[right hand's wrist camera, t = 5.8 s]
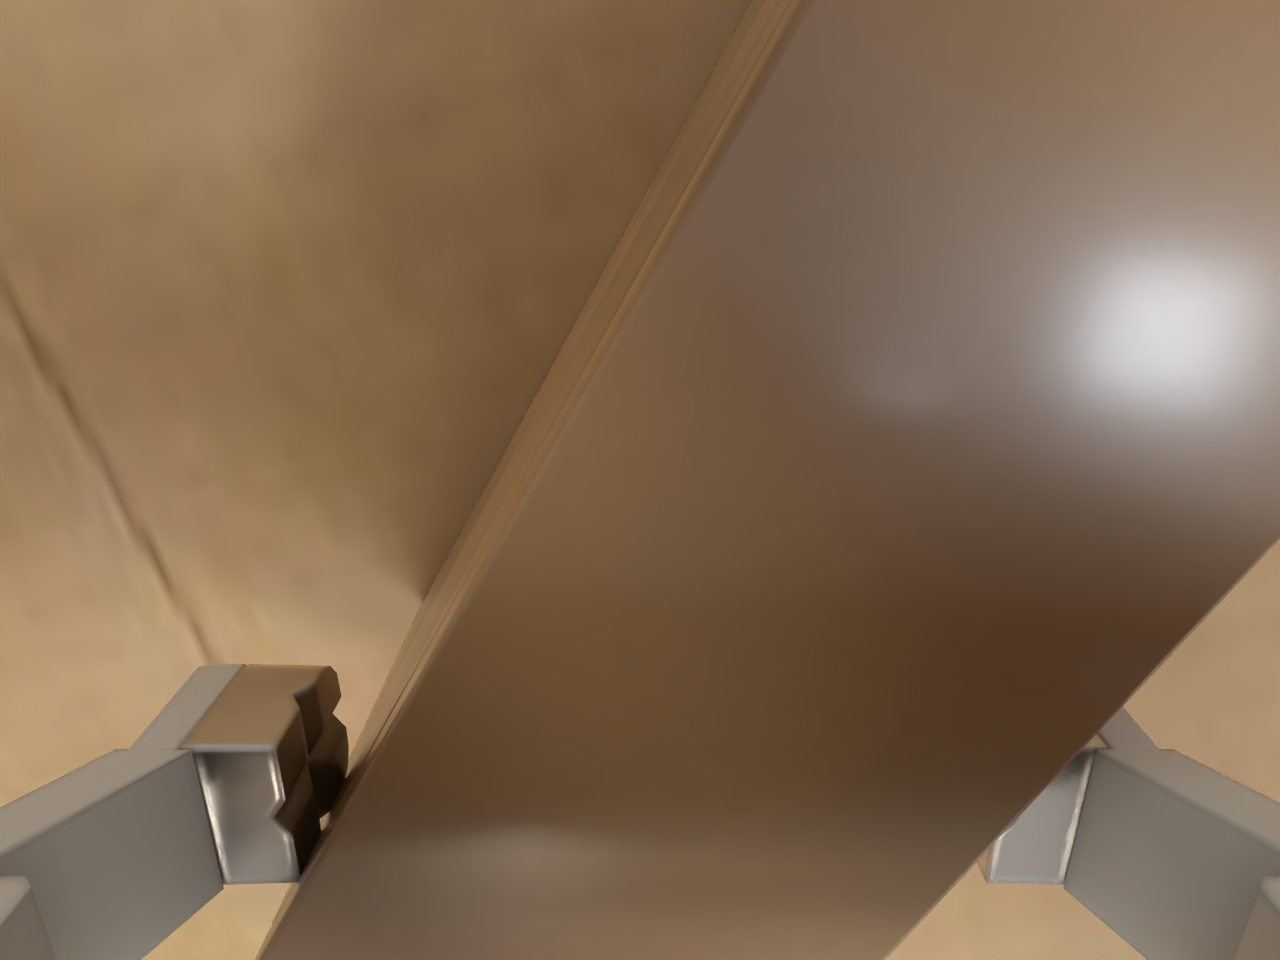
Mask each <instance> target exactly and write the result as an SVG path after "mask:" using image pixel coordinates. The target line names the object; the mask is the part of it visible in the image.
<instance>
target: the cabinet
mask: <svg viewBox="0 0 1280 960" xmlns="http://www.w3.org/2000/svg"><path fill="white" fill-rule="evenodd" d="M1279 538H1280V0H751V2H750V4H749V6H748V8H747V10H746V11H745V13H744V15H743V17H742V19H741V21H740V22H739V24H738V26H737V28H736V30H735V32H734V33H733V35H732V37H731V39H730V41H729V42H728V44H727V46H726V48H725V50H724V52H723V53H722V55H721V57H720V59H719V61H718V63H717V64H716V66H715V68H714V70H713V72H712V74H711V75H710V77H709V79H708V81H707V83H706V85H705V86H704V88H703V90H702V92H701V94H700V96H699V97H698V99H697V101H696V103H695V105H694V107H693V108H692V110H691V112H690V114H689V116H688V117H687V119H686V121H685V123H684V125H683V127H682V128H681V130H680V132H679V134H678V136H677V138H676V139H675V141H674V143H673V145H672V147H671V149H670V150H669V152H668V154H667V156H666V158H665V160H664V161H663V163H662V165H661V167H660V169H659V171H658V172H657V174H656V176H655V178H654V180H653V182H652V183H651V185H650V187H649V189H648V191H647V192H646V194H645V196H644V198H643V200H642V202H641V203H640V205H639V207H638V209H637V211H636V213H635V214H634V216H633V218H632V220H631V222H630V224H629V225H628V227H627V229H626V231H625V233H624V235H623V236H622V238H621V240H620V242H619V244H618V246H617V247H616V249H615V251H614V253H613V255H612V257H611V258H610V260H609V262H608V264H607V266H606V267H605V269H604V271H603V273H602V275H601V277H600V278H599V280H598V282H597V284H596V286H595V288H594V289H593V291H592V293H591V295H590V297H589V299H588V300H587V302H586V304H585V306H584V308H583V310H582V311H581V313H580V315H579V317H578V319H577V321H576V322H575V324H574V326H573V328H572V330H571V332H570V333H569V335H568V337H567V339H566V341H565V343H564V344H563V346H562V348H561V350H560V352H559V353H558V355H557V357H556V359H555V361H554V363H553V364H552V366H551V368H550V370H549V372H548V374H547V375H546V377H545V379H544V381H543V383H542V385H541V386H540V388H539V390H538V392H537V394H536V396H535V397H534V399H533V401H532V403H531V405H530V407H529V408H528V410H527V412H526V414H525V416H524V418H523V419H522V421H521V423H520V425H519V427H518V428H517V430H516V432H515V434H514V436H513V438H512V439H511V441H510V443H509V445H508V447H507V449H506V450H505V452H504V454H503V456H502V458H501V460H500V461H499V463H498V465H497V467H496V469H495V471H494V472H493V474H492V476H491V478H490V480H489V482H488V483H487V485H486V487H485V489H484V491H483V493H482V494H481V496H480V498H479V500H478V502H477V503H476V505H475V507H474V509H473V511H472V513H471V514H470V516H469V518H468V520H467V522H466V524H465V525H464V527H463V529H462V531H461V533H460V535H459V536H458V538H457V540H456V542H455V544H454V546H453V547H452V549H451V551H450V553H449V555H448V557H447V558H446V560H445V562H444V564H443V566H442V568H441V569H440V571H439V573H438V575H437V577H436V579H435V580H434V582H433V584H432V586H431V588H430V589H429V591H428V593H427V595H426V597H425V599H424V600H423V602H422V604H421V606H420V608H419V611H418V613H417V615H416V617H415V619H414V621H413V623H412V626H411V628H410V630H409V632H408V634H407V636H406V638H405V641H404V643H403V645H402V647H401V649H400V651H399V653H398V656H397V658H396V660H395V662H394V664H393V666H392V668H391V671H390V673H389V675H388V677H387V679H386V681H385V683H384V685H383V688H382V690H381V692H380V694H379V696H378V698H377V700H376V703H375V705H374V707H373V709H372V711H371V713H370V715H369V718H368V720H367V722H366V724H365V726H364V728H363V730H362V732H361V735H360V737H359V739H358V741H357V743H356V745H355V747H354V750H353V752H352V754H351V756H350V758H349V760H348V768H347V773H346V778H345V780H344V783H343V785H342V787H341V789H340V791H339V793H338V796H337V798H336V800H335V802H334V804H333V806H332V808H331V810H330V812H328V813H327V814H326V815H324V816H323V817H322V818H321V820H320V825H321V833H320V835H319V837H318V839H317V841H316V844H315V846H314V848H313V850H312V852H311V854H310V857H309V861H308V863H307V864H306V866H305V868H304V870H303V872H302V874H301V876H300V878H299V880H298V882H293V883H291V884H290V886H289V888H288V891H287V893H286V895H285V897H284V899H283V901H282V903H281V906H280V908H279V910H278V912H277V914H276V916H275V918H274V921H273V923H272V927H271V928H270V930H269V932H268V934H267V936H266V938H265V940H264V942H263V944H262V946H261V948H260V951H259V953H258V955H257V957H256V959H255V960H885V959H886V958H887V957H888V956H889V955H890V954H891V953H892V951H893V950H894V949H895V948H896V947H897V946H898V945H899V944H900V943H901V942H902V941H903V940H904V939H905V938H906V937H907V935H908V934H909V933H910V932H911V931H912V930H913V929H914V928H915V927H916V926H917V925H918V924H919V923H920V922H921V921H922V919H923V918H924V917H925V916H926V915H927V914H928V913H929V912H930V911H931V910H932V909H933V908H934V907H935V906H936V905H937V903H938V902H939V901H940V900H941V899H942V898H943V897H944V896H945V895H946V894H947V893H948V892H949V891H950V890H951V889H952V887H953V886H954V885H955V884H956V883H957V882H958V881H959V880H960V879H961V878H962V877H963V876H964V875H965V874H966V873H967V871H968V870H969V869H970V868H971V867H972V866H973V865H974V864H975V863H976V862H977V861H978V860H979V859H980V858H981V857H982V855H983V854H984V853H985V852H986V851H987V850H988V849H989V848H990V847H991V846H992V845H993V844H994V843H995V842H996V841H997V839H998V838H999V837H1000V836H1001V835H1002V834H1003V833H1004V832H1005V831H1006V830H1007V829H1008V828H1009V827H1010V826H1011V824H1012V823H1013V822H1014V821H1015V820H1016V819H1017V818H1018V817H1019V816H1020V815H1021V814H1022V813H1023V812H1024V811H1025V810H1026V808H1027V807H1028V806H1029V805H1030V804H1031V803H1032V802H1033V801H1034V800H1035V799H1036V798H1037V797H1038V796H1039V795H1040V794H1041V792H1042V791H1043V790H1044V789H1045V788H1046V787H1047V786H1048V785H1049V784H1050V783H1051V782H1052V781H1053V780H1054V779H1055V778H1056V776H1057V775H1058V774H1059V773H1060V772H1061V771H1062V770H1063V769H1064V768H1065V767H1066V766H1067V765H1068V764H1069V763H1070V762H1071V760H1072V759H1073V758H1074V757H1075V756H1076V755H1077V754H1078V753H1079V752H1080V751H1081V750H1082V749H1083V748H1084V747H1085V746H1086V744H1087V743H1088V742H1089V741H1090V740H1091V739H1092V738H1093V737H1094V736H1095V735H1096V734H1097V733H1098V732H1099V731H1100V730H1101V728H1102V727H1103V726H1104V725H1105V724H1106V723H1107V722H1108V721H1109V720H1110V719H1111V718H1112V717H1113V716H1114V715H1115V714H1116V712H1117V711H1118V710H1119V709H1120V708H1121V707H1122V706H1123V705H1124V704H1125V703H1126V702H1127V701H1128V700H1129V699H1130V698H1131V696H1132V695H1133V694H1134V693H1135V692H1136V691H1137V690H1138V689H1139V688H1140V687H1141V686H1142V685H1143V684H1144V683H1145V681H1146V680H1147V679H1148V678H1149V677H1150V676H1151V675H1152V674H1153V673H1154V672H1155V671H1156V670H1157V669H1158V668H1159V667H1160V665H1161V664H1162V663H1163V662H1164V661H1165V660H1166V659H1167V658H1168V657H1169V656H1170V655H1171V654H1172V653H1173V652H1174V651H1175V649H1176V648H1177V647H1178V646H1179V645H1180V644H1181V643H1182V642H1183V641H1184V640H1185V639H1186V638H1187V637H1188V636H1189V635H1190V633H1191V632H1192V631H1193V630H1194V629H1195V628H1196V627H1197V626H1198V625H1199V624H1200V623H1201V622H1202V621H1203V620H1204V619H1205V617H1206V616H1207V615H1208V614H1209V613H1210V612H1211V611H1212V610H1213V609H1214V608H1215V607H1216V606H1217V605H1218V604H1219V603H1220V601H1221V600H1222V599H1223V598H1224V597H1225V596H1226V595H1227V594H1228V593H1229V592H1230V591H1231V590H1232V589H1233V588H1234V587H1235V585H1236V584H1237V583H1238V582H1239V581H1240V580H1241V579H1242V578H1243V577H1244V576H1245V575H1246V574H1247V573H1248V572H1249V571H1250V569H1251V568H1252V567H1253V566H1254V565H1255V564H1256V563H1257V562H1258V561H1259V560H1260V559H1261V558H1262V557H1263V556H1264V555H1265V553H1266V552H1267V551H1268V550H1269V549H1270V548H1271V547H1272V546H1273V545H1274V544H1275V543H1276V542H1277V541H1278V540H1279Z"/></svg>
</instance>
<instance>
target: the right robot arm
mask: <svg viewBox="0 0 1280 960" xmlns="http://www.w3.org/2000/svg"><path fill="white" fill-rule="evenodd" d="M340 698H341V693H340V687H339V682H338V677H337V673H336V672H335V671H334V670H333V669H332V668H331V666H306V665H258V664H250V665H245V664H208V665H205V666H201V667H198V668H197V669H196V670H195V672H194V673H193V674H192V675H191V676H190V677H189V679H188V680H187V681H186V682H185V683H184V685H183V686H182V687H181V688H180V689H179V691H178V692H177V693H176V694H175V695H174V696H173V698H172V699H171V700H170V701H169V702H168V704H167V705H166V706H165V707H164V708H163V709H162V711H161V712H160V713H159V714H158V715H157V717H156V718H155V719H154V720H153V721H152V723H151V724H150V725H149V726H148V727H147V728H146V730H145V731H144V732H143V733H142V734H141V736H140V737H139V738H138V739H137V740H136V741H135V743H134V744H133V745H132V746H131V747H130V749H115V750H113V751H111V752H109V753H107V754H105V755H103V756H101V757H99V758H97V759H95V760H93V761H91V762H89V763H87V764H86V765H84V766H82V767H80V768H78V769H76V770H74V771H72V772H70V773H68V774H66V775H64V776H62V777H60V778H58V779H56V780H54V781H52V782H50V783H48V784H46V785H44V786H42V787H40V788H38V789H36V790H34V791H32V792H30V793H28V794H26V795H24V796H22V797H20V798H18V799H16V800H14V801H12V802H10V803H8V804H7V805H5V806H3V807H1V808H0V960H141V959H142V958H143V957H145V956H146V955H147V954H148V953H149V952H150V951H152V950H153V949H154V948H155V947H156V946H157V945H159V944H160V943H161V942H162V941H163V940H164V939H166V938H167V937H168V936H169V935H170V934H171V933H173V932H174V931H175V930H176V929H177V928H178V927H180V926H181V925H182V924H183V923H184V922H185V921H187V920H188V919H189V918H190V917H191V916H192V915H193V914H195V913H196V912H197V911H198V910H199V909H200V908H202V907H203V906H204V905H205V904H206V903H207V902H209V901H210V900H211V899H212V898H213V897H214V896H216V895H217V894H218V893H219V892H220V891H221V890H223V884H258V883H293V882H298V880H299V878H300V876H301V874H302V872H303V870H304V868H305V866H306V864H307V863H308V861H309V857H310V854H311V852H312V850H313V848H314V846H315V844H316V841H317V839H318V837H319V835H320V833H321V825H320V818H322V817H323V816H324V815H326V814H327V813H328V812H330V810H331V808H332V806H333V804H334V802H335V800H336V798H337V796H338V793H339V791H340V789H341V787H342V785H343V783H344V780H345V778H346V773H347V768H348V738H347V731H346V727H345V726H344V725H343V724H342V723H341V722H340V721H339V720H338V719H337V718H336V717H335V716H334V715H333V714H332V713H333V711H334V709H335V707H336V706H337V704H338V702H339V700H340ZM977 863H978V866H979V868H980V870H981V872H982V874H983V876H984V878H985V880H986V882H992V883H1028V884H1064V889H1065V890H1067V891H1068V892H1069V893H1070V894H1071V895H1072V896H1074V897H1075V898H1076V899H1077V900H1078V901H1079V902H1081V903H1082V904H1083V905H1084V906H1085V907H1086V908H1088V909H1089V910H1090V911H1091V912H1092V913H1093V914H1095V915H1096V916H1097V917H1098V918H1099V919H1100V920H1102V921H1103V922H1104V923H1105V924H1106V925H1108V926H1109V927H1110V928H1111V929H1112V930H1113V931H1115V932H1116V933H1117V934H1118V935H1119V936H1120V937H1122V938H1123V939H1124V940H1125V941H1126V942H1127V943H1129V944H1130V945H1131V946H1132V947H1133V948H1134V949H1136V950H1137V951H1138V952H1139V953H1140V954H1141V955H1143V956H1144V957H1145V958H1146V959H1147V960H1280V803H1278V802H1276V801H1274V800H1272V799H1270V798H1268V797H1266V796H1264V795H1262V794H1260V793H1258V792H1256V791H1254V790H1252V789H1250V788H1248V787H1246V786H1244V785H1242V784H1240V783H1238V782H1236V781H1234V780H1233V779H1231V778H1229V777H1227V776H1225V775H1223V774H1221V773H1219V772H1217V771H1215V770H1213V769H1211V768H1209V767H1207V766H1205V765H1203V764H1201V763H1199V762H1197V761H1195V760H1193V759H1191V758H1189V757H1187V756H1185V755H1183V754H1181V753H1179V752H1177V751H1175V750H1173V749H1158V747H1157V746H1156V745H1155V744H1154V743H1153V742H1152V740H1151V739H1150V738H1149V737H1148V736H1147V735H1146V733H1145V732H1144V731H1143V730H1142V729H1141V728H1140V726H1139V725H1138V724H1137V723H1136V722H1135V721H1134V719H1133V718H1132V717H1131V716H1130V715H1129V714H1128V712H1127V711H1126V710H1125V709H1124V708H1123V707H1121V708H1120V709H1119V710H1118V711H1117V712H1116V714H1115V715H1114V716H1113V717H1112V718H1111V719H1110V720H1109V721H1108V722H1107V723H1106V724H1105V725H1104V726H1103V727H1102V728H1101V730H1100V731H1099V732H1098V733H1097V734H1096V735H1095V736H1094V737H1093V738H1092V739H1091V740H1090V741H1089V742H1088V743H1087V744H1086V746H1085V747H1084V748H1083V749H1082V750H1081V751H1080V752H1079V753H1078V754H1077V755H1076V756H1075V757H1074V758H1073V759H1072V760H1071V762H1070V763H1069V764H1068V765H1067V766H1066V767H1065V768H1064V769H1063V770H1062V771H1061V772H1060V773H1059V774H1058V775H1057V776H1056V778H1055V779H1054V780H1053V781H1052V782H1051V783H1050V784H1049V785H1048V786H1047V787H1046V788H1045V789H1044V790H1043V791H1042V792H1041V794H1040V795H1039V796H1038V797H1037V798H1036V799H1035V800H1034V801H1033V802H1032V803H1031V804H1030V805H1029V806H1028V807H1027V808H1026V810H1025V811H1024V812H1023V813H1022V814H1021V815H1020V816H1019V817H1018V818H1017V819H1016V820H1015V821H1014V822H1013V823H1012V824H1011V826H1010V827H1009V828H1008V829H1007V830H1006V831H1005V832H1004V833H1003V834H1002V835H1001V836H1000V837H999V838H998V839H997V841H996V842H995V843H994V844H993V845H992V846H991V847H990V848H989V849H988V850H987V851H986V852H985V853H984V854H983V855H982V857H981V858H980V859H979V860H978V861H977Z"/></svg>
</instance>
